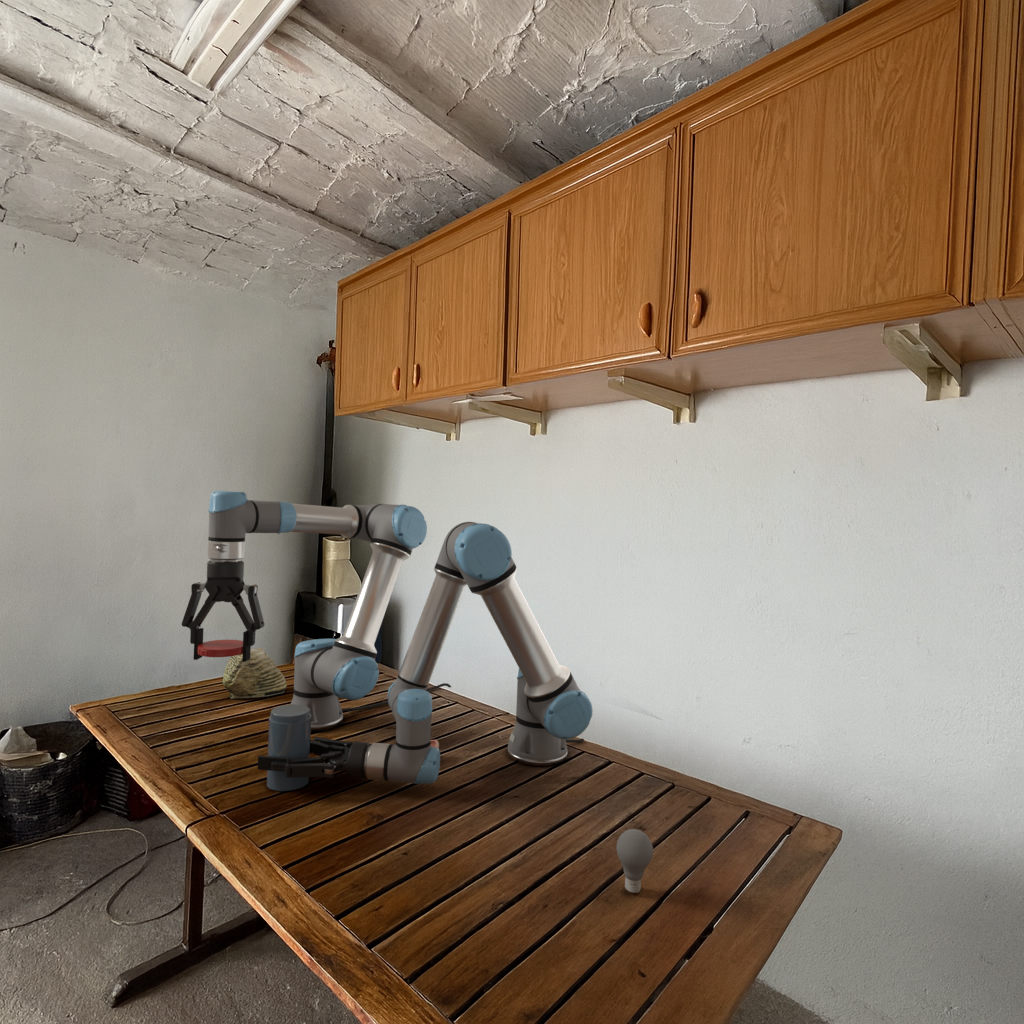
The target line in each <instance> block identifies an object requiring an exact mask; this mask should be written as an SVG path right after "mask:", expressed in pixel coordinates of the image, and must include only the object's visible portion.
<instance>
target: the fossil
mask: <svg viewBox="0 0 1024 1024" xmlns="http://www.w3.org/2000/svg"><path fill="white" fill-rule="evenodd" d="M242 655H243V654H240V655H236V656H230V657H229V659H228V660H227V663H226V666H225V668H224V671H223V675H222V676H223V677H222V685H223V687H224V688H225V690H226V691H228V693H229V698H230V699H250V698H264V697H271V696H275V695H281V694H284V693H285V691H286V689H287V687H288V686H287V680H286V678H285V676H284V674H283V673H282V672H281V669H279V668H278V667H277V665H276V663H275V662H274V660H273V659H272V658H271V657H270V656H269V655H268V654H267V653H266V652H265V650H264V649H263V648H260V647H258V648H251V652H250V659H249V660H247V661H246V662H242Z"/></svg>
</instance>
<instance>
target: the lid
mask: <svg viewBox="0 0 1024 1024" xmlns="http://www.w3.org/2000/svg"><path fill="white" fill-rule="evenodd" d="M197 654H199V655H201V656H202V657H205V658H228V657H229V658H230V657H231V656H236V655H240V654H243V640H240V639H214V640H208V641H203V643H201V644H199V645H198V648H197Z"/></svg>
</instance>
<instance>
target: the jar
mask: <svg viewBox="0 0 1024 1024" xmlns="http://www.w3.org/2000/svg"><path fill="white" fill-rule="evenodd" d="M290 704H291V703H290ZM290 704H283V705H279V706H276V707H274V708H272V709H271V711H270V716H269V717H268V732H267V735H268V736H267V756H273V757H290V760H294V759H303V758H311V754H310V740H312V739H311V738H312V737H311V736H312V735H311V734H312V732H311V714H310V708H309V707H307V706H304V705H298V704H291V705H290ZM309 782H310V777H292V778H287V777H286V772H285V771H272V770H266V787H267V788H268V789H269V790H273V791H277V792H289V791H295V790H298V789H301V788H303V787H305V786H306V785H308V783H309Z"/></svg>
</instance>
